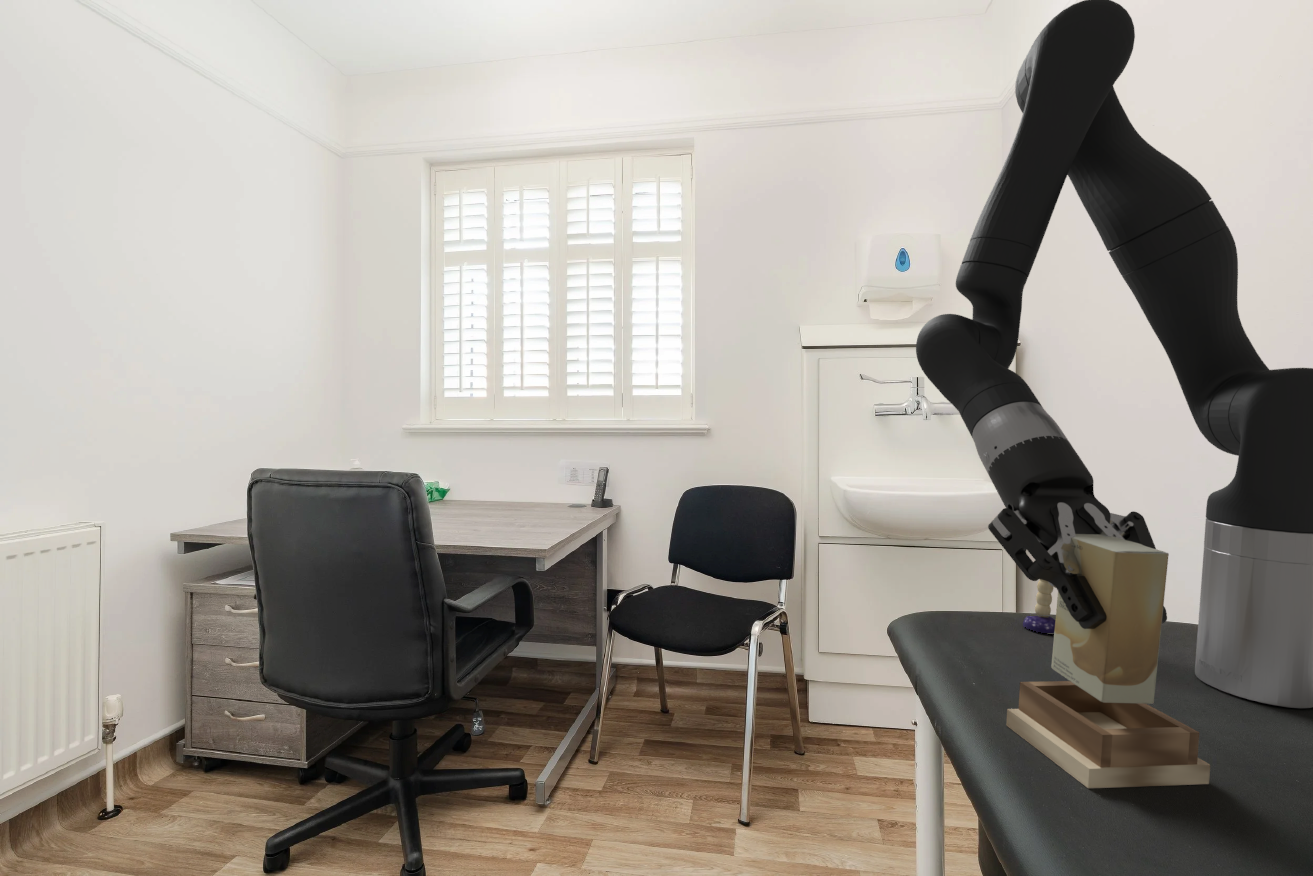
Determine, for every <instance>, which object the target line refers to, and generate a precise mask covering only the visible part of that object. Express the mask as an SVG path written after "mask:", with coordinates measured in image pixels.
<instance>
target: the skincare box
mask: <svg viewBox="0 0 1313 876" xmlns="http://www.w3.org/2000/svg"><path fill="white" fill-rule="evenodd" d="M1075 535H1076V537H1073V538H1072V537H1071V538H1072V540H1073V542H1074V545H1075V550H1074V553H1075V556H1076V558H1077V561H1078V565H1079V570H1080V572H1079V573H1078V574H1077V575H1078V576H1085V578H1086V580H1087V581H1088V583H1089V585H1090V587H1091V588H1092V590H1093V592H1094V594H1095V595H1096V597H1097V599H1098V600H1099V602H1100V604H1101V606H1102V607H1103V609H1104V611H1105V613H1106V616H1107V619H1106V621H1105V622H1104V623H1102V624H1101V625H1099V626H1098V627H1096V628H1095V629H1084V628H1082V627H1081V626H1080V624H1079V622H1077V621H1076V620H1075V619H1074V618H1073V617H1072V616H1071V614H1070V613H1069V611H1068V608H1067V607H1066V604H1065V603H1064V601H1063V599H1062V598H1061V596H1060V594H1059V592H1058V591H1057V599H1056V612H1055V620H1056V621H1055V631H1054V635H1053V645H1052V656H1051V666H1050V667H1051V669H1052V670H1053V671H1055V672H1056V673H1057V674H1059V675H1060V676H1062V677H1063V678H1065V679H1066V680H1067V681H1071V682H1072V683H1074V684H1075V685H1077V686H1078V687H1080V688H1081V689H1083V690H1084V691H1086V692H1087V693H1089V694H1090V695H1092V696H1093V697H1095V698H1096V699H1098V700H1099V701H1101V702H1103V703H1142V704H1147V705H1153V704H1154V702H1155V695H1156V694H1155V693H1156V684H1157V683H1156V681H1157V674H1158V673H1157V671H1158V664H1159V663H1158V661H1159V653H1160V644H1161V633H1162V625H1163V624H1162V615H1163V606H1164V603H1165V592H1166V585H1167V584H1166V583H1167V575H1168V564H1169V563H1168V562H1169V552H1166V551H1163V550H1160V549H1157V548H1156V549H1153V548H1150V547H1147V546H1144V545H1142V544H1139V543H1135V542H1131V541H1127V540H1123V539H1120V538H1116V537H1113V536H1106V535H1099V534H1075ZM1164 607H1165V606H1164Z"/></svg>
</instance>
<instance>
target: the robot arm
mask: <svg viewBox="0 0 1313 876" xmlns="http://www.w3.org/2000/svg"><path fill="white" fill-rule="evenodd" d="M1135 33H1136V32H1135V26H1134V22H1133V19H1132V17H1131V15H1130V14H1129V12H1128V11H1127V9H1125V8H1124V6H1122V5H1121V4H1119V3H1117V2H1116V1H1113V0H1082V1H1079V2H1076V3H1074V4H1071V5H1070V6H1068V7H1066V8H1064V9H1063V10H1062V11H1061V12H1059V13H1058V14H1057V15H1055V16H1054V17H1053V18H1052V19H1051V20H1050V21H1049V22H1048V23H1047V24H1046V25H1045V26H1044V28H1042V30H1041V31H1040V32H1039V34H1038V35H1037V37H1036V38H1035V39H1034V41H1033V43H1032V45H1031V47H1030V49H1029V51H1028V53H1027V54H1026V57H1025V58H1024V60H1023V62H1022V64H1021V66H1020V68H1019V70H1018V73H1017V76H1016V80H1015V89H1014V93H1015V97H1016V101H1017V104H1018V107H1019V109H1020V111H1021V114H1022V116H1021V119H1020V123H1019V126H1018V128H1017V132H1016V134H1015V137H1014V139H1013V142H1012V145H1011V147H1010V150H1009V152H1008V154H1007V156H1006V159H1005V162H1004V164H1003V165H1002V169H1001V170H1000V172H999V174H998V176H997V179H996V180H995V183H994V185H993V187H992V189H991V190H990V193H989V195H988V197H987V200H986V202H985V204H984V205H983V208H982V210H981V213H980V214H979V216H978V217H979V218H978V220H977V222H976V225H975V227H974V229H973V232H972V235H971V236H970V239H969V243H968V245H967V248H966V250H965V253H964V255H963V258H962V261H961V265H960V267H959V270H958V273H957V275H956V279H955V287H956V290H957V291H958V293H960V294H961V295H962V296H963V297H964V298H965V299H967V300H968V301H969V302H970V304H971V307H972V318H969V317H966V316H963V315H960V314H956V313H943V314H939V315H937V316H934V317H933V318H930V320H928V321H927V322H926V323H925V324H924V325H923V326H922V328H921V329H920V331H919V333H918V335H917V338H916V344H915V354H916V357H917V358H916V359H917V362H918V365H919V367H920V368H921V371H923V373H924V375H925V376H926V378H927V379H928V380H929V382H930V383H931V384H932V385H933V386H934V387H935V388H936V389H937V390H938V391H939V392H940V394H941V395H942V396H943V397H944V398H945V399H946V400H947V401H948V402H949V403H950V404H951V405H952V406H953V407H954V408H955V409H956V410H957V411H958V413H959V415H960V417H961V419H962V421H963V423H964V425H965V426H966V428H967V430H968V432H969V434H970V436H971V438H972V440H973V442H974V445H975V449H976V452H977V455H978V458H979V459H980V461H981V463H982V466H983V467H984V469H985V471H986V473H987V474H988V477H989V479H990V480H991V482H992V484H993V486H994V489H995V490H996V492H997V494H998V496H999V497H1000V499H1001V502H1002V503H1003V505H1004V508H1003V509H1002V510H1000V512H999V513H998V514H997V515H996V516H995V517H994V518H993V520H991V522H990V523H989V524H988V525H987V528H988V530H989V532H991V534H992V536H993V537H994V538H995V539H996V540H997V541H998V542H999V544H1000V545H1001V547H1002V548H1003V549H1004V550H1005V552H1006V553H1007V555H1008V556H1009V557H1010V558H1011V560H1012V561H1013V562H1014V563H1015V564H1016V566H1017V567H1018V568H1019V570H1020V571H1022V574H1023V575H1024V576H1025V577H1026V578H1027V579H1028V580H1030V581H1032V582H1036V581H1039V580H1040V579H1041V580H1045V581H1048V582H1049V584H1050V585H1051V586H1053V588H1055V589H1056V590H1057V593H1058V592H1059V594H1060V596H1061V598H1062V599H1063V601H1064V603H1065V604H1066V607H1067V608H1068V611H1069V613H1070V614H1071V616H1072V617H1073V618H1074V619H1075V620H1076V621H1077V622H1079V624H1080V626H1081V627H1082V628H1084V629H1095V628H1096V627H1098V626H1099V625H1101V624H1102V623H1104V622H1105V621H1106V619H1107V616H1106V613H1105V611H1104V609H1103V607H1102V606H1101V604H1100V602H1099V600H1098V599H1097V597H1096V595H1095V594H1094V592H1093V590H1092V588H1091V587H1090V585H1089V583H1088V581H1087V580H1086V578H1085V576H1078V575H1077V574H1078V573H1079V572H1080V570H1079V565H1078V561H1077V558H1076V556H1075V553H1074V550H1075V545H1074V542H1073V540H1072V538H1073V537H1076V535H1075V534H1099V535H1106V536H1113V537H1116V538H1120V539H1123V540H1127V541H1131V542H1135V543H1139V544H1142V545H1144V546H1147V547H1150V548H1153V549H1157V548H1156V545H1155V543H1154V540H1153V537H1152V535H1151V533H1150V530H1149V528H1148V525H1147V523H1146V520H1145V518H1144V516H1143V515H1142V513H1141V514H1140V513H1139V512H1137V511H1135V510H1134V511H1133V510H1132V511H1130V512H1129V513H1128V514H1127V515H1122V514H1117V513H1114V512H1110V510H1109V509H1108V508H1107V506H1106V505H1104V504H1103V503H1102V502H1101V501H1099V500H1098V499H1097V498H1096V496H1095V494H1094V478H1093V475H1092V473H1091V472H1090V470H1089V469H1088V468H1087V466H1086V465H1085V463H1084V461H1083V460H1082V458H1081V457H1080V456H1079V454H1078V453H1077V451H1076V450H1075V449H1074V447H1073V445H1072V443H1071V442H1070V441H1069V440H1068V438H1067V436H1066V434H1065V433H1064V431H1063V430H1062V429H1061V427H1060V426H1059V424H1058V423H1057V422H1056V421H1055V420H1054V418H1053V417H1052V416H1051V415H1049V413H1048V412H1047V411H1046V409H1045V408H1044V407H1043V405H1042V404H1041V402H1040V401H1039V399H1038V398H1037V396H1036V395H1035V394H1034V392H1033V391H1032V389H1031V387H1030V386H1029V385H1028V384H1027V382H1026V380H1024V379H1023V377H1022V376H1020V375H1019V374H1018V373H1017V372H1016V371H1015V372H1014V371H1013V370H1011V369H1009V368H1010V367H1011V365H1012V362H1013V361H1014V359H1015V356H1016V352H1017V348H1018V344H1019V336H1020V334H1019V333H1020V327H1021V318H1022V317H1021V316H1022V307H1023V292H1024V289H1025V286H1026V283H1027V280H1028V278H1029V276H1030V274H1031V270H1032V268H1033V265H1034V263H1035V261H1036V258H1037V255H1038V253H1039V251H1040V250H1039V249H1040V248H1041V245H1042V242H1043V239H1044V237H1045V234H1046V232H1047V229H1048V226H1049V224H1050V221H1051V219H1052V216H1053V213H1054V210H1055V209H1056V208H1055V207H1056V205H1057V202H1058V199H1059V198H1060V194H1061V191H1062V189H1063V187H1064V184H1065V182H1066V179H1067V177H1068V178H1069V180H1070V182H1071V184H1072V185H1073V187H1074V190H1075V192H1076V194H1077V197H1078V198H1079V200H1080V201H1081V203H1082V206H1083V207H1084V209H1085V211H1086V213H1087V214H1088V216H1089V217H1090V218H1089V219H1090V220H1091V221H1092V224H1093V225H1094V227H1095V229H1096V231H1097V232H1098V235H1099V236H1100V238H1101V241H1102V242H1103V243H1102V244H1104V247H1105V249H1106V251H1107V252H1108V254H1109V256H1110V258H1111V259H1112V261H1113V263H1114V265H1115V267H1116V268H1117V270H1118V272H1119V274H1120V275H1121V277H1122V278H1123V280H1124V282H1125V283H1126V285H1127V286H1128V288H1129V289H1130V291H1131V292H1132V295H1133V296H1134V298H1135V299H1136V301H1137V303H1138V305H1139V307H1140V309H1141V311H1142V312H1143V314H1144V316H1145V317H1146V320H1147V322H1148V323H1149V325H1150V327H1151V329H1152V331H1153V332H1154V333H1155V336H1156V337H1157V339H1158V341H1160V344H1161V346H1162V347H1163V349H1164V351H1165V353H1166V356H1167V357H1168V359H1169V361H1170V364H1171V367H1172V368H1173V370H1174V373H1175V376H1176V379H1177V380H1178V384H1179V386H1180V388H1181V390H1182V393H1183V396H1184V398H1185V401H1186V404H1187V405H1188V406H1187V407H1188V408H1189V409H1188V410H1189V411H1190V413H1191V416H1192V418H1193V420H1194V422H1195V424H1196V426H1197V428H1198V429H1199V431H1200V433H1201V434H1202V436H1203V437H1204V438H1205V439H1206V440H1207V442H1209V443H1210V444H1211V445H1212V446H1213V447H1215V448H1216V449H1218V450H1220V451H1222V452H1225V453H1227V454H1230V455H1232V456H1233V455H1234V456H1238V457H1237V465H1236V470H1235V474H1234V477H1233V478H1232V480H1231V481H1230V483H1228V485H1226V486H1224V487H1223V488H1221V489H1218V490H1215V491H1213V492H1212V493H1210V494H1209V495H1208V497H1207V501H1206V507H1205V508H1206V509H1205V524H1204V525H1205V527H1204V539H1203V540H1204V541H1203V555H1202V557H1203V558H1202V568H1201V581H1200V597H1199V610H1198V624H1197V625H1198V626H1197V637H1196V647H1195V648H1196V650H1195V651H1196V652H1195V663H1194V675H1195V676H1196V678H1198V679H1199V681H1202V682H1203V683H1204V684H1207V685H1209V686H1211V687H1213V688H1215V689H1218V690H1219V691H1222V692H1224V693H1227V694H1231V695H1233V696H1236V697H1239V698H1243V699H1247V700H1249V701H1255V702H1258V703H1262V704H1267V705H1272V706H1278V707H1284V708H1292V709H1312V708H1313V367H1289V368H1278V369H1277V368H1275V369H1269V367H1268V366H1267V365H1266V364H1265V362H1264V361H1263V359H1262V358H1261V357H1260V355H1259V354H1258V353H1257V350H1256V349H1255V347H1254V346H1253V344H1252V342H1251V340H1250V339H1249V337H1248V336H1247V333H1246V331H1245V329H1244V327H1243V324H1242V322H1241V318H1240V313H1239V309H1238V284H1239V283H1238V282H1239V281H1238V278H1239V262H1238V261H1239V260H1238V250H1237V246H1236V242H1235V239H1234V236H1233V234H1232V232H1231V230H1230V229H1229V226H1228V225H1227V223H1226V221H1225V219H1224V218H1223V216H1222V215H1221V213H1220V211H1219V210H1218V209H1219V208H1217V205H1216V204H1215V202H1214V200H1212V197H1211V196H1210V194H1209V192H1208V191H1207V189H1206V188H1205V187H1204V186H1203V184H1202V183H1201V182H1200V181H1199V179H1197V178H1196V177H1195V176H1194V175H1192V174H1191V173H1190V171H1188V170H1187V169H1185V168H1184V167H1183V166H1181V165H1180V164H1178V163H1177V162H1176V161H1174V160H1173V159H1171V158H1170V157H1168V156H1167V155H1165V154H1164V153H1162V152H1161V151H1160V150H1158V149H1156V148H1155V147H1154V146H1153V145H1151V144H1150V143H1148V141H1146V140H1145V139H1144V138H1143V137H1142V136H1141V135H1140V134H1139V132H1138V131H1137V129H1136V128H1135V127H1134V126H1133V124H1132V122H1131V121H1130V119H1129V117H1128V115H1127V113H1126V111H1125V109H1124V108H1123V106H1122V103H1121V101H1120V99H1119V97H1118V95H1117V93H1116V91H1115V88H1114V84H1115V83H1116V81H1117V80H1118V79H1119V77H1120V76H1121V75H1122V73H1123V72H1124V70H1125V68H1126V67H1127V65H1128V63H1129V61H1130V59H1131V56H1132V53H1133V51H1134V46H1135V45H1134V44H1135V39H1136V34H1135ZM1071 537H1072V538H1071ZM1027 552H1028V553H1029V554H1030V556H1032V558H1033V559H1034V561H1033V560H1032V559H1031V558H1030V556H1029V555H1028V554H1027ZM1167 621H1168V614H1167V609H1166V607H1165V606H1163V615H1162V625H1163V624H1164V623H1166V622H1167Z"/></svg>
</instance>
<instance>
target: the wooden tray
mask: <svg viewBox="0 0 1313 876" xmlns="http://www.w3.org/2000/svg"><path fill="white" fill-rule="evenodd" d="M1018 694H1019V696H1018V708H1007V710H1006V727H1008V728H1009V729H1010V730H1011V731H1013V732H1014V733H1015V734H1016V735H1018V736H1019V737H1021V738H1022V739H1023V740H1024V741H1026V742H1027V743H1029V744H1030V745H1031V746H1032V747H1033V748H1035V749H1036V750H1038V752H1040V753H1041V754H1043V755H1044V756H1045V757H1047V758H1048V759H1049V760H1050V761H1052V762H1053V763H1054V764H1056V765H1057V766H1058V767H1059V768H1061V769H1062V770H1063V771H1065V773H1067V774H1069V775H1070V776H1071V777H1073V778H1074V779H1075V780H1077V781H1078V782H1079V783H1080V784H1081V785H1083V786H1084V787H1086V788H1087V789H1105V788H1106V789H1107V788H1108V789H1109V788H1136V787H1137V788H1139V787H1160V786H1161V787H1163V786H1164V787H1166V786H1187V785H1189V786H1191V785H1193V786H1194V785H1209V784H1210V772H1211V764H1210V763H1208V762H1206V761H1205V760H1202V759H1201V758H1200V757H1198V756H1199V745H1200V743H1199V741H1200V731H1197V730H1196V729H1194V728H1192V727H1191V726H1188V725H1187V724H1186V723H1185V724H1184V723H1183V722H1181V721H1179V720H1177V719H1175V718H1173V717H1171V716H1169V715H1168V714H1166V713H1164V712H1163V711H1161V710H1159V709H1158V708H1157V709H1156V708H1155V707H1153V706H1151V705H1150V704H1142V703H1103V702H1101V701H1099V700H1098V699H1096V698H1095V697H1093V696H1092V695H1090V694H1089V693H1087V692H1086V691H1084V690H1083V689H1081V688H1080V687H1078V686H1077V685H1075V684H1074V683H1072V682H1071V681H1069V680H1059V681H1058V680H1056V681H1055V680H1054V681H1053V680H1052V681H1020V682H1019V693H1018Z"/></svg>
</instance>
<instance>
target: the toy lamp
mask: <svg viewBox="0 0 1313 876" xmlns="http://www.w3.org/2000/svg"><path fill="white" fill-rule="evenodd" d="M1036 589H1037V593H1036V595H1035V600H1036V604H1035V606H1034V611H1035V614H1037V615H1049V616H1028V615H1026V617H1024V619H1023V621H1022V626H1023V628H1025V627H1026V628H1025V629H1027V630H1029V629H1030V630H1029V631H1031V630H1033V631H1032V632H1034V631H1036V632H1035V633H1038V632H1041V633H1040V634H1042V633H1054V631H1055V621H1056V618H1054V617H1052V616H1050V615H1051V611H1052V609H1051V604H1052V603H1053V602H1052V601H1053V596H1052V593H1053V591H1054V587H1053V586H1051V585H1050V584H1049V582H1048V581H1045V580H1041V579H1038V582H1037V584H1036Z"/></svg>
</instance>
